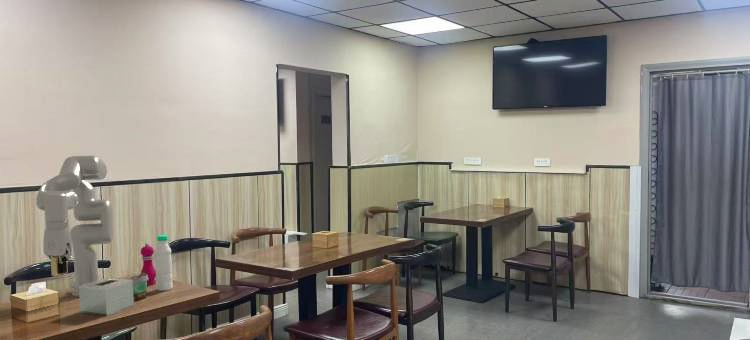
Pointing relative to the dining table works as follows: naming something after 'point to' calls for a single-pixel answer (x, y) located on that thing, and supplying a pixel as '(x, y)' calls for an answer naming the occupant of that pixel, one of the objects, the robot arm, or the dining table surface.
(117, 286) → the box
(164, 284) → the water bottle
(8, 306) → the dining table surface
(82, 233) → the robot arm
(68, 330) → the dining table surface
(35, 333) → the dining table surface
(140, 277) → the half-round slice
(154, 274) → the pepper mill
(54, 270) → the beige rectangular block
